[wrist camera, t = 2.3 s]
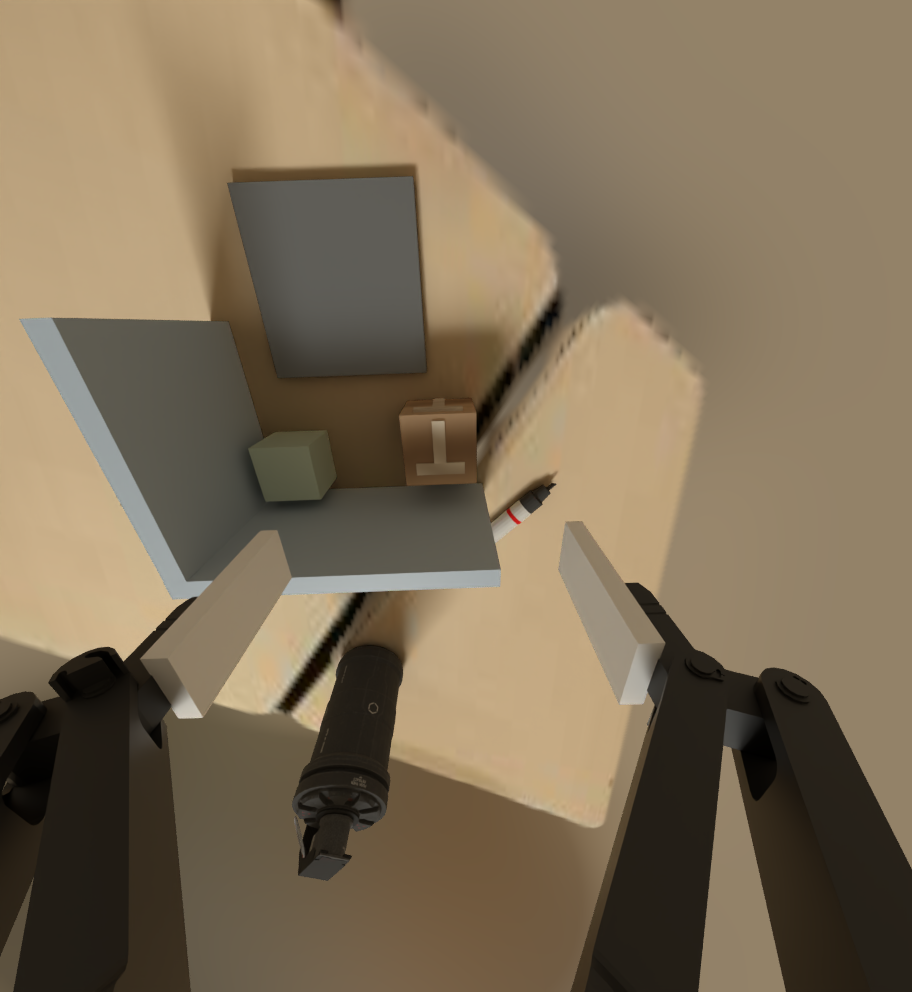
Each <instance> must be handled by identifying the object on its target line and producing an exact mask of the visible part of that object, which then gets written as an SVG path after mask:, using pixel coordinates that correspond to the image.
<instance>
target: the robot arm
mask: <svg viewBox="0 0 912 992" xmlns="http://www.w3.org/2000/svg"><path fill="white" fill-rule="evenodd" d="M558 570H559V572H560V574H561V577H562V579H563V581H564V583H565V586H566V588H567V590H568V592H569V594H570V597H571V599H572V601H573V603H574V606H575V608H576V610H577V612H578V614H579V617H580V619H581V621H582V623H583V626H584V628H585V630H586V632H587V634H588V637H589V639H590V641H591V643H592V646H593V648H594V650H595V652H596V654H597V657H598V659H599V661H600V663H601V666H602V668H603V670H604V672H605V674H606V677H607V679H608V681H609V683H610V685H611V688H612V690H613V692H614V694H615V697H616V699H617V701H618V703H619V705H627V704H643V703H644V700H645V698H646V695H647V693H649V695H650V697H651V698H652V701H653V702H654V704H655V706H654V708H653V711H652V713H651V716H650V718H649V721H648V724H647V725H648V728H647V732H646V735H645V738H644V742H643V745H642V749H641V752H640V756H639V759H638V763H637V766H636V770H635V773H634V776H633V780H632V783H631V787H630V790H629V793H628V797H627V800H626V804H625V807H624V811H623V814H622V817H621V821H620V824H619V828H618V832H617V835H616V838H615V841H614V845H613V848H612V852H611V856H610V859H609V862H608V866H607V869H606V872H605V876H604V879H603V883H602V886H601V890H600V893H599V897H598V900H597V903H596V907H595V910H594V914H593V917H592V920H591V924H590V927H589V931H588V934H587V938H586V941H585V945H584V948H583V951H582V955H581V958H580V962H579V965H578V968H577V972H576V975H575V979H574V982H573V985H572V989H571V992H698V988H699V978H700V968H701V958H702V949H703V938H704V928H705V918H706V909H707V899H708V889H709V880H710V869H711V860H712V850H713V840H714V830H715V820H716V810H717V801H718V791H719V790H718V789H719V780H720V771H721V761H722V751H723V745H724V746H727V747H731V748H732V753H733V757H734V762H735V766H736V770H737V774H738V779H739V784H740V788H741V793H742V797H743V802H744V806H745V810H746V815H747V820H748V824H749V828H750V833H751V837H752V842H753V846H754V850H755V855H756V860H757V864H758V868H759V873H760V878H761V882H762V887H763V890H764V896H765V900H766V904H767V909H768V913H769V918H770V922H771V927H772V931H773V936H774V940H775V944H776V949H777V953H778V958H779V963H780V967H781V971H782V976H783V980H784V985H785V989H786V992H912V869H911V867H910V865H909V863H908V861H907V859H906V857H905V855H904V853H903V851H902V849H901V847H900V845H899V843H898V841H897V839H896V837H895V835H894V833H893V831H892V829H891V827H890V825H889V823H888V821H887V819H886V817H885V816H884V813H883V811H882V809H881V807H880V805H879V803H878V801H877V799H876V797H875V796H874V793H873V791H872V790H871V788H870V786H869V784H868V782H867V780H866V778H865V776H864V774H863V772H862V770H861V768H860V766H859V764H858V762H857V760H856V758H855V756H854V754H853V752H852V750H851V748H850V746H849V744H848V742H847V740H846V738H845V736H844V734H843V732H842V730H841V728H840V726H839V724H838V722H837V720H836V718H835V716H834V715H833V712H832V710H831V708H830V706H829V704H828V702H827V700H826V699H825V698H824V696H823V695H822V694H821V692H820V691H819V690H818V689H817V688H816V687H814V686H813V685H812V684H811V683H810V682H808V681H807V680H805V679H803V678H802V677H800V676H799V675H797V674H794V673H792V672H789V671H787V670H784V669H779V668H767V669H765V670H764V671H763V672H762V673H761V674H760V676H759V678H757V677H753V676H749V675H745V674H741V673H736V672H732V671H729V670H726V669H724V668H723V666H722V665H721V664H720V663H719V662H717V661H716V660H715V659H714V658H712V657H711V656H709V655H707V654H705V653H704V652H701V651H698V650H695V649H694V648H693V647H692V646H691V644H690V643H689V642H688V640H687V639H686V638H685V636H684V635H683V634H682V632H681V631H680V630H679V628H678V627H677V626H676V624H675V623H674V622H673V621H672V619H671V618H670V617H669V615H667V614H666V611H665V610H664V609H663V607H662V606H661V605H659V602H658V601H657V600H656V598H655V597H654V596H653V594H652V593H651V592H650V591H649V590H647V589H646V588H645V587H643V586H642V585H641V584H639V583H624V582H623V580H622V579H621V577H620V576H619V575H618V573H617V572H616V570H615V569H614V567H613V566H612V564H611V563H610V561H609V560H608V559H607V557H606V556H605V554H604V553H603V551H602V550H601V548H600V547H599V545H598V544H597V542H596V541H595V540H594V538H593V537H592V535H591V534H590V532H589V531H588V529H587V528H586V526H585V525H584V524H583V522H582V521H574V522H565V527H564V534H563V541H562V548H561V555H560V562H559V569H558ZM291 578H292V576H291V573H290V570H289V566H288V563H287V560H286V557H285V553H284V550H283V547H282V544H281V540H280V537H279V534H278V531H277V530H264V531H260V532H259V533H258V534H257V535H256V536H255V537H254V538H253V539H252V540H251V541H250V542H249V543H248V544H247V545H246V547H245V548H244V549H243V550H242V551H241V552H240V553H239V554H238V555H237V556H236V557H235V558H234V559H233V560H232V561H231V562H230V564H229V565H228V566H227V567H226V568H225V569H224V570H223V571H222V572H221V573H220V574H219V575H218V576H217V577H216V578H215V580H214V581H213V582H212V583H211V584H210V585H209V586H208V587H207V588H206V589H205V590H204V591H203V592H202V593H201V594H200V595H199V597H191V598H190V599H188V600H187V601H185V602H184V603H182V604H181V605H180V606H178V607H177V608H176V609H175V610H174V611H173V612H172V613H171V614H170V615H169V616H168V617H167V618H166V620H165V621H163V622H162V623H161V624H160V625H159V626H158V627H157V628H156V631H153V632H152V633H151V634H150V635H149V636H148V637H147V638H146V639H145V640H144V641H143V642H142V643H141V644H140V645H139V646H138V647H137V649H136V650H135V651H134V652H133V653H132V654H131V655H130V656H129V657H128V658H127V659H126V660H125V661H124V662H123V660H122V659H121V658H120V656H119V655H118V653H117V652H116V650H115V649H114V648H110V647H102V648H96V649H93V650H90V651H87V652H85V653H83V654H81V655H79V656H77V657H75V658H73V659H71V660H70V661H69V662H67V663H66V664H64V665H63V666H61V667H60V668H59V669H58V670H57V671H56V672H55V673H54V674H53V675H52V677H51V679H50V681H49V684H50V686H51V687H52V688H53V689H54V690H55V691H56V692H57V693H58V695H59V696H60V697H56V698H53V699H49V700H46V701H42V702H41V701H40V700H39V698H38V697H37V696H36V695H35V694H34V693H33V692H21V693H16V694H13V695H10V696H8V697H5V698H3V699H0V955H1V953H2V951H3V948H4V946H5V944H6V941H7V939H8V936H9V934H10V932H11V929H12V927H13V925H14V922H15V920H16V918H17V915H18V913H19V910H20V908H21V906H22V903H23V901H24V899H25V896H26V893H27V891H28V889H29V886H30V884H31V882H32V879H33V877H34V881H33V885H32V891H31V897H30V902H29V908H28V914H27V919H26V924H25V930H24V936H23V941H22V946H21V952H20V958H19V963H18V969H17V974H16V981H15V986H14V991H13V992H191V989H190V979H189V967H188V957H187V947H186V946H187V945H186V934H185V923H184V913H183V901H182V891H181V880H180V868H179V858H178V846H177V835H176V824H175V813H174V802H173V792H172V781H171V770H170V758H169V747H168V737H167V726H166V723H165V721H164V720H163V717H164V716H165V714H166V713H167V712H168V710H169V709H170V708H171V707H172V709H173V710H174V712H175V714H176V715H177V717H178V718H203V717H204V715H205V714H206V712H207V711H208V709H209V708H210V706H211V704H212V703H213V701H214V700H215V698H216V697H217V695H218V693H219V692H220V690H221V689H222V687H223V686H224V684H225V682H226V681H227V679H228V678H229V676H230V675H231V673H232V671H233V670H234V668H235V667H236V665H237V664H238V662H239V660H240V659H241V657H242V656H243V654H244V653H245V651H246V649H247V648H248V646H249V645H250V643H251V641H252V640H253V638H254V637H255V635H256V634H257V632H258V630H259V629H260V627H261V626H262V624H263V623H264V621H265V619H266V618H267V616H268V615H269V613H270V612H271V610H272V608H273V607H274V605H275V604H276V602H277V601H278V599H279V597H280V596H281V594H282V593H283V591H284V589H285V588H286V586H287V585H288V583H289V582H290V580H291ZM6 781H7V784H6V786H5V787H4V785H5V782H6ZM3 787H4V789H3ZM2 790H3V791H2Z"/></svg>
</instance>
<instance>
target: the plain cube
mask: <svg viewBox="0 0 912 992" xmlns="http://www.w3.org/2000/svg"><path fill="white" fill-rule="evenodd" d="M248 450H249V453H250V456H251V459H252V462H253V465H254V468H255V472H256V475H257V478H258V481H259V484H260V487H261V490H262V493H263V496H264V499H265V502H268V501H294V500H320V499H322V497H323V496H324V495H325V493H326V492H327V490H328V489H329V488H330V486H331V485H332V484H333V482H334V481H335V480H336V478H337V475H336V470H335V466H334V461H333V456H332V451H331V447H330V442H329V437H328V432H327V430H316V431H289V432H274V433H273V434H271V435H269V436H268V437H266V438H265V439H263V440H261V441H260V442H258V443H256V444H255V445H253V446H251V447H250V448H248Z"/></svg>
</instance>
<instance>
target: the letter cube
mask: <svg viewBox="0 0 912 992" xmlns="http://www.w3.org/2000/svg"><path fill="white" fill-rule="evenodd" d="M399 421H400V430H401V439H402V448H403V457H404V466H405V475H406V484H407V486H415V485H441V484H467V483H477V443H476V410H475V407H474V404H473V401H472V398H463V399H445V398H434V400H410V401H407V402H406V404H405V406H404V408H403V409H402V411H401V413H400V415H399Z"/></svg>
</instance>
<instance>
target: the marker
mask: <svg viewBox="0 0 912 992" xmlns="http://www.w3.org/2000/svg"><path fill="white" fill-rule="evenodd" d="M555 485H556V484H554V483H552V484H550V485H549V486H548V487H547V488H546V487H545V486H544V485H542V486H541V487H539V488H538V489H536V490H535V491H533V492H532V491H529V492H528V493H527V494H526V495H525V496H523V497H522V498H521V499H520V500H518V501H517V502H516V503H514V504H513V505H512V506H511V507H510V508H509V509H507V510H506V511H505V512H504V513H503V514H501V515H500V516H499V517H498V518H497V519H495V520H494V521H493V522H492V523H491V527H492V531H493V536H494V541H495V543H496V542H497V541H499V540H500V539H501V538H502V537H504V536H505V535H506V534H507V533H509V532H510V531H511V530H512V529H514V528H515V527H516V526H517V525H518V524H520V523H521V522H522V521H523V520H525V519H526V518H527V517H528V516H530V515H531V514H532V513H533V512H534V511H535V510H536V509H538V508H539V507H540V506H541V505H542V501H543V500H544V499H545V498H546V497H547V496H548V495H549V494H550V491H549V490H550V489H551V488H553V487H554V486H555ZM509 516H510V517H509Z"/></svg>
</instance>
